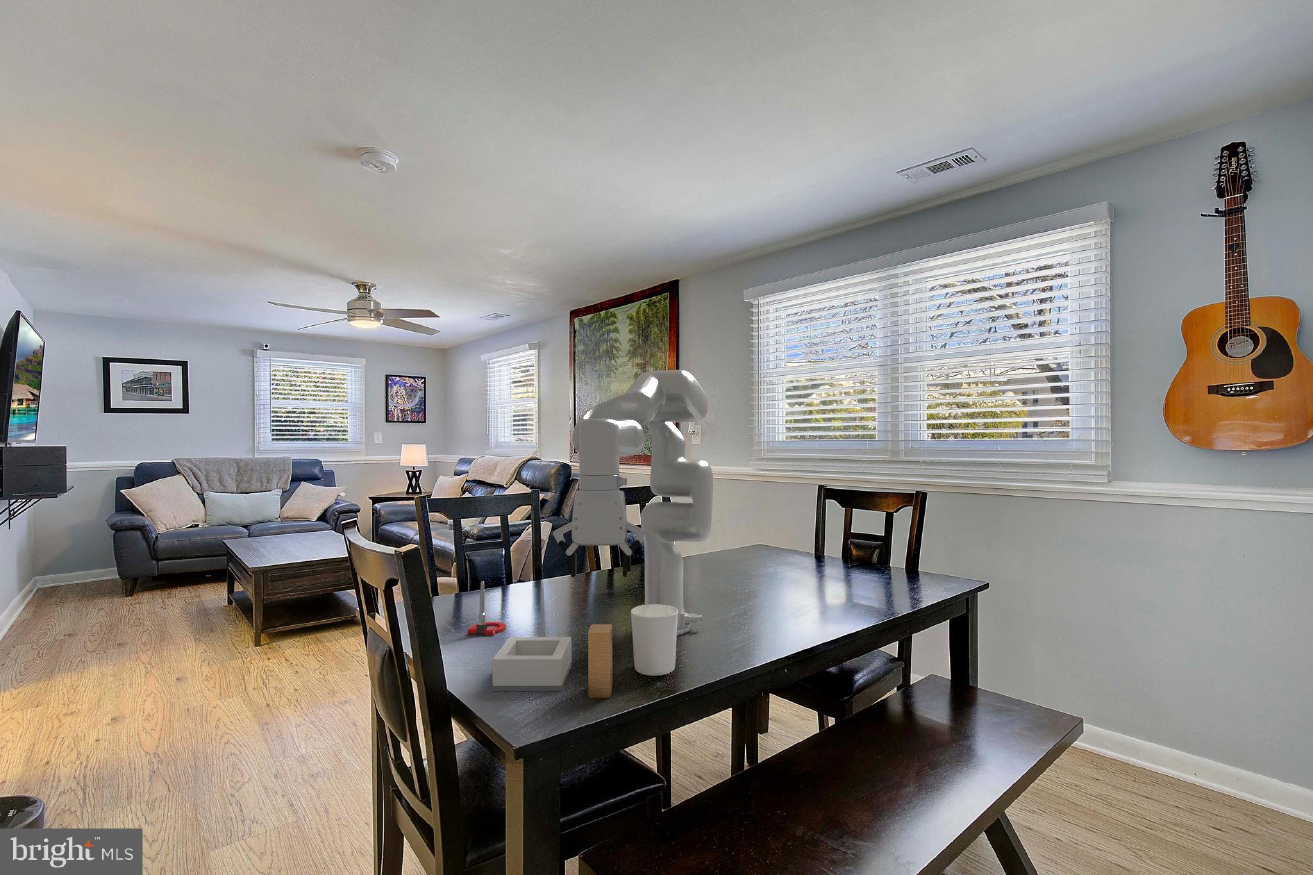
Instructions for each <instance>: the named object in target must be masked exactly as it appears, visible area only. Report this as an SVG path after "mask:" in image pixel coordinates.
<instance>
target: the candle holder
mask: <svg viewBox="0 0 1313 875" xmlns="http://www.w3.org/2000/svg"><path fill="white" fill-rule="evenodd" d="M630 615H631V616H630V617H631V628H632V629H631V631H632V648H633V649H632V650H633V660H634V661H633V662H634V669H635V671H636V672H638V673H639V674H642V675H645V676H657V677H658V676H663V675H668V674H670V672H671V673H672V672H673V671H674V670H675V668H676V659H677V658H676V657H677V656H676V655H677V637H678V635H677V619H678V609H677V608H675V607H672V606H669V605H662V604H648V605H645V604H641V605H637V606H635V607H633V608H632V609H631V610H630Z"/></svg>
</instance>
